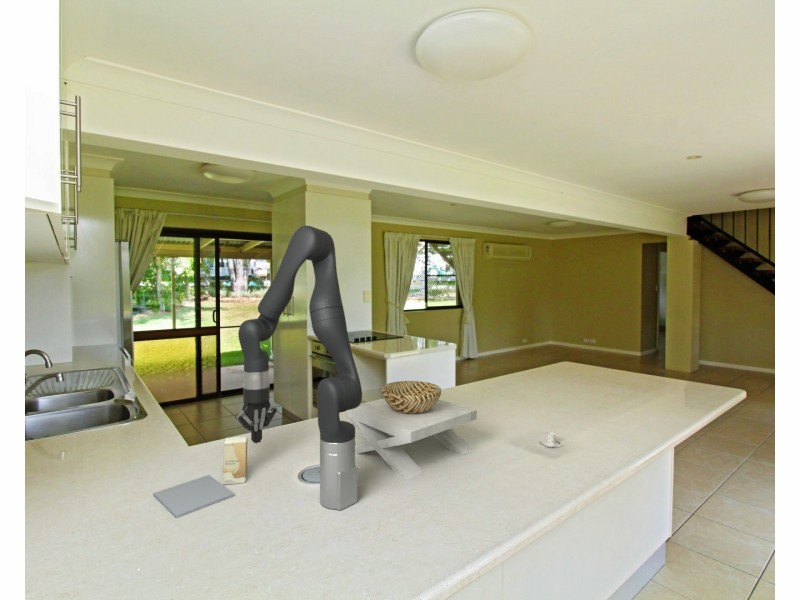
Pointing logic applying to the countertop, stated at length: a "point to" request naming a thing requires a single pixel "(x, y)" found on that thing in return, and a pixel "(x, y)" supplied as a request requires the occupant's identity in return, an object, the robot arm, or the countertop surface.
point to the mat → (192, 495)
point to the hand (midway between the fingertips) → (256, 442)
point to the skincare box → (235, 460)
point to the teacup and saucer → (550, 439)
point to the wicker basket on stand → (409, 422)
